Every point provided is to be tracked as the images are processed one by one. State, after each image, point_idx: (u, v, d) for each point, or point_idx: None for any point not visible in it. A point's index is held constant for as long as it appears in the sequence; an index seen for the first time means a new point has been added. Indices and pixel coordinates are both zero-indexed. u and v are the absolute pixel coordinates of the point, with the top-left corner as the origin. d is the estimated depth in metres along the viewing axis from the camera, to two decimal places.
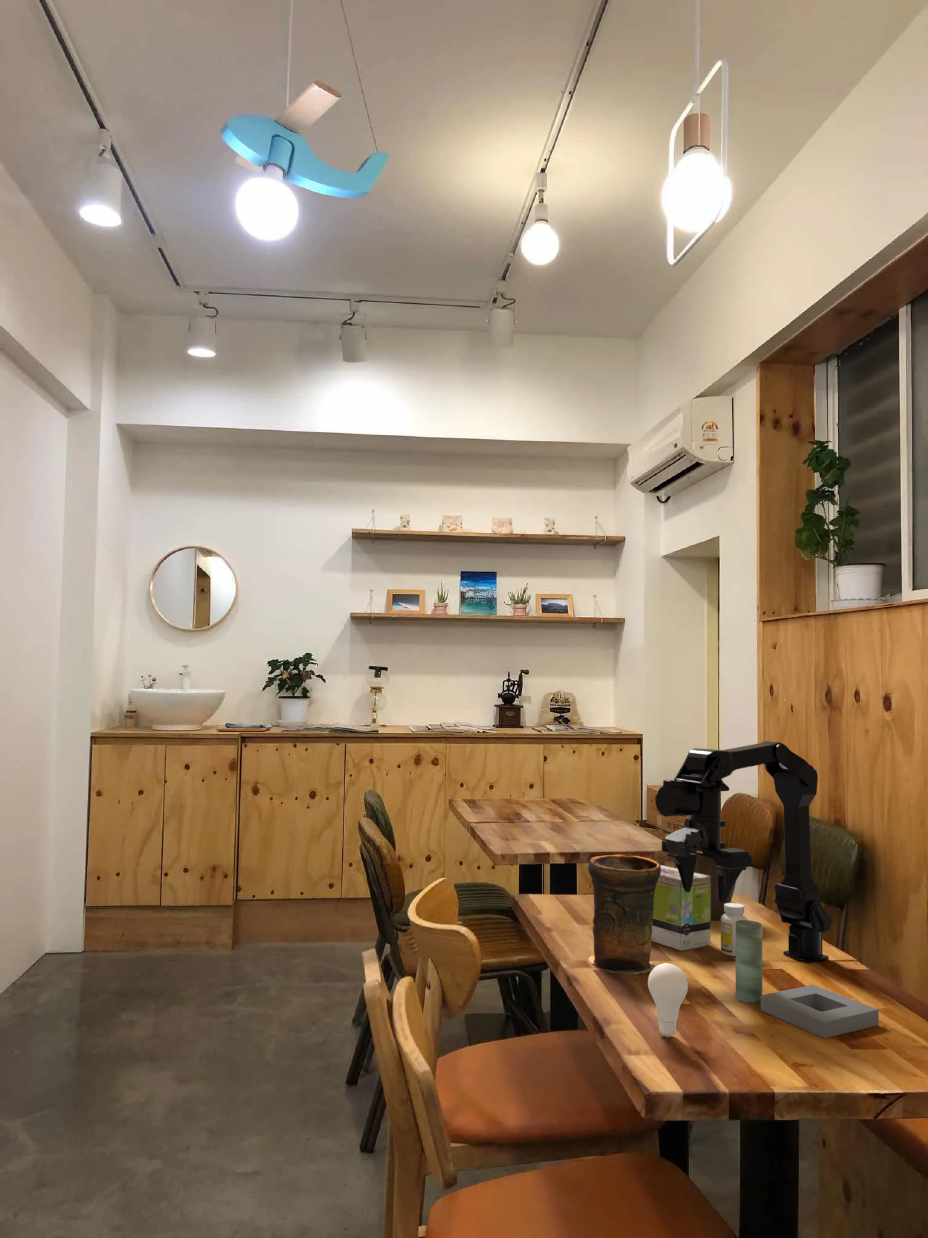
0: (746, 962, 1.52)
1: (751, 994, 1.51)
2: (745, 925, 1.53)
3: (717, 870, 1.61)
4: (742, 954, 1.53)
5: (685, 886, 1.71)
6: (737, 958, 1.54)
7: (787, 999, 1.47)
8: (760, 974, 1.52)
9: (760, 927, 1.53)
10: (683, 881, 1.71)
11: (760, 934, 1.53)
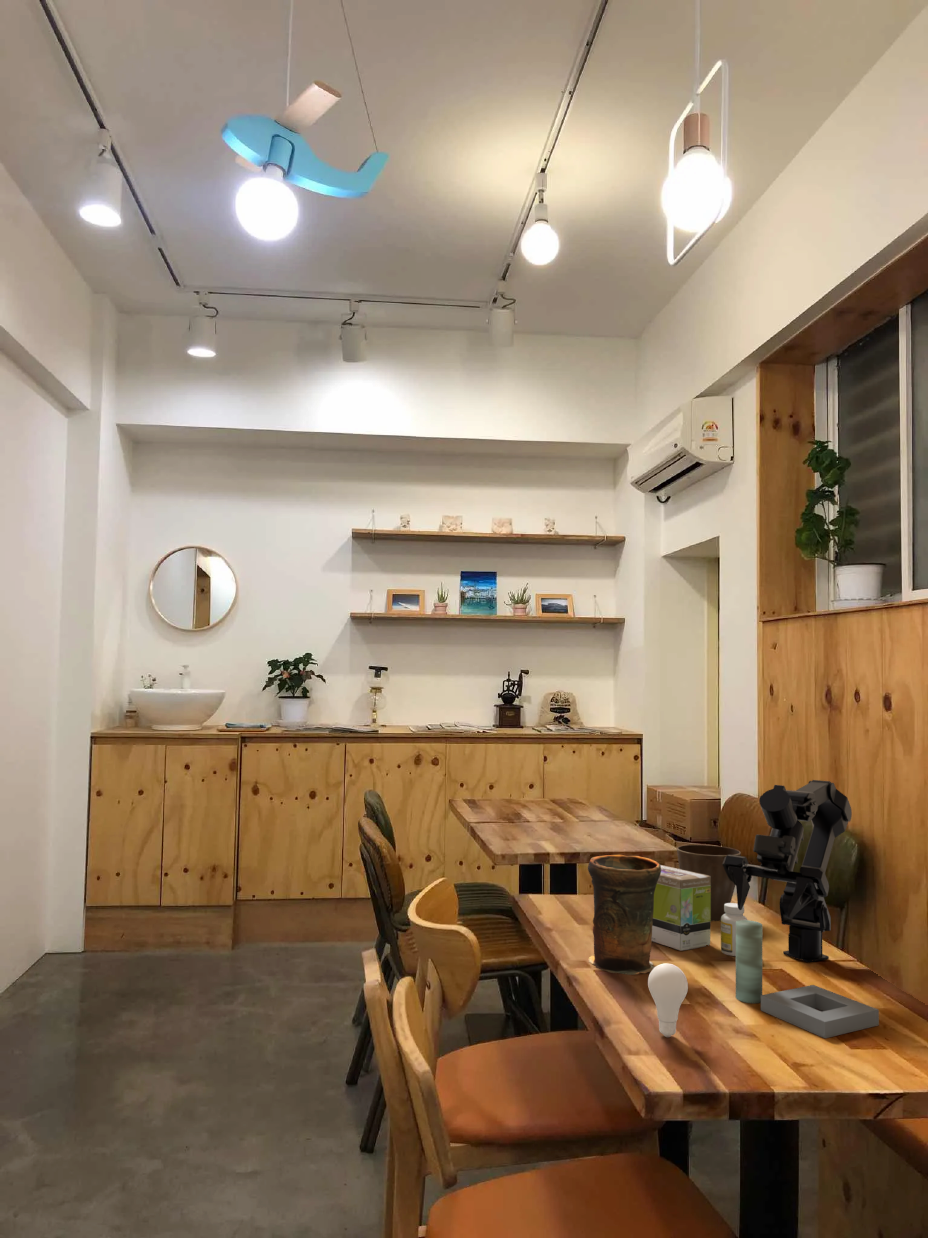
0: (746, 962, 1.52)
1: (751, 994, 1.51)
2: (745, 925, 1.53)
3: (800, 881, 1.60)
4: (742, 954, 1.53)
5: (740, 902, 1.64)
6: (737, 958, 1.54)
7: (787, 999, 1.47)
8: (760, 974, 1.52)
9: (760, 927, 1.53)
10: (740, 896, 1.65)
11: (760, 934, 1.53)
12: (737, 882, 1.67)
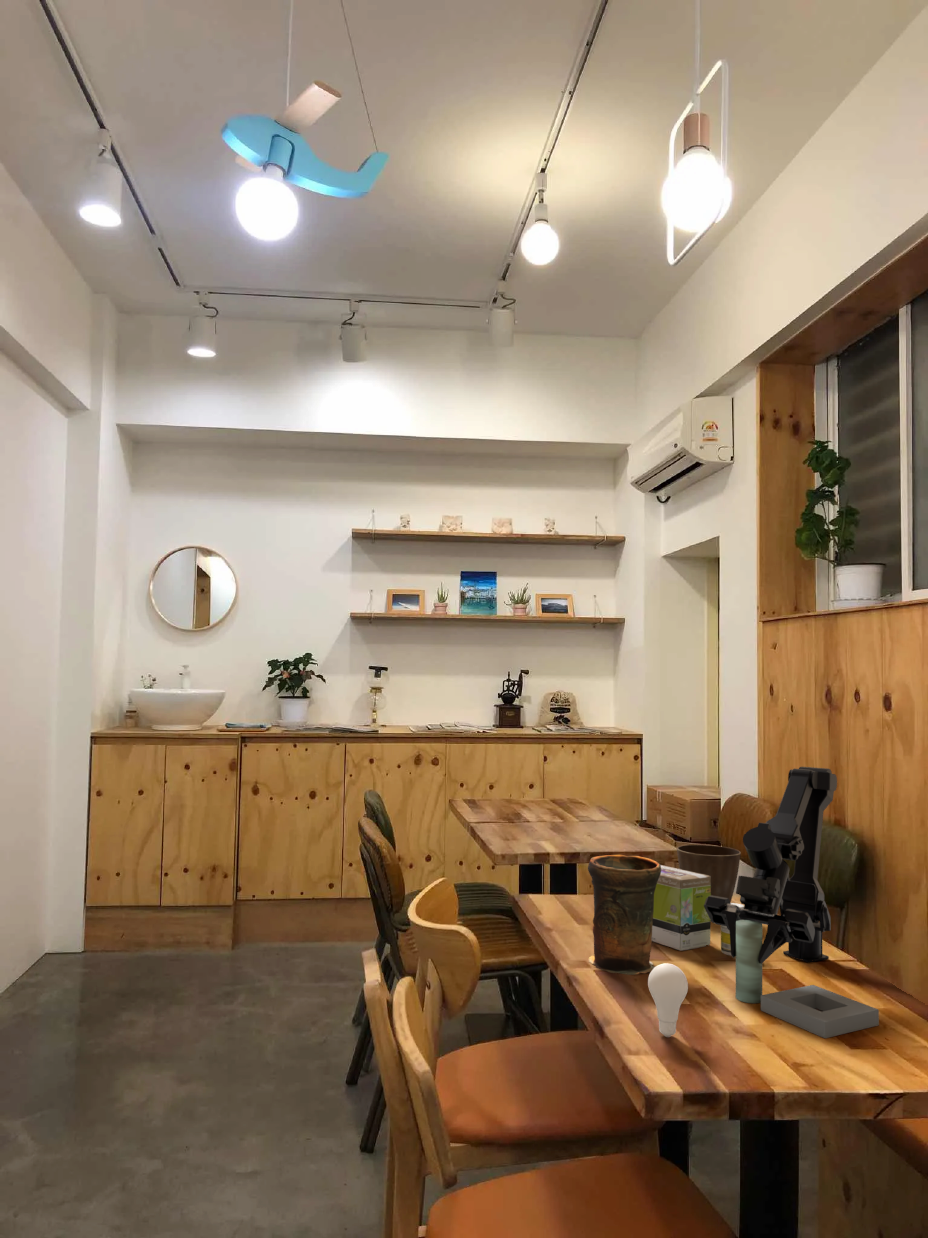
0: (746, 962, 1.52)
1: (751, 994, 1.51)
2: (745, 925, 1.53)
3: (772, 924, 1.53)
4: (742, 954, 1.53)
5: (733, 949, 1.55)
6: (737, 958, 1.54)
7: (787, 999, 1.47)
8: (760, 974, 1.52)
9: (760, 927, 1.53)
10: (733, 943, 1.55)
11: (760, 934, 1.53)
12: (730, 927, 1.57)
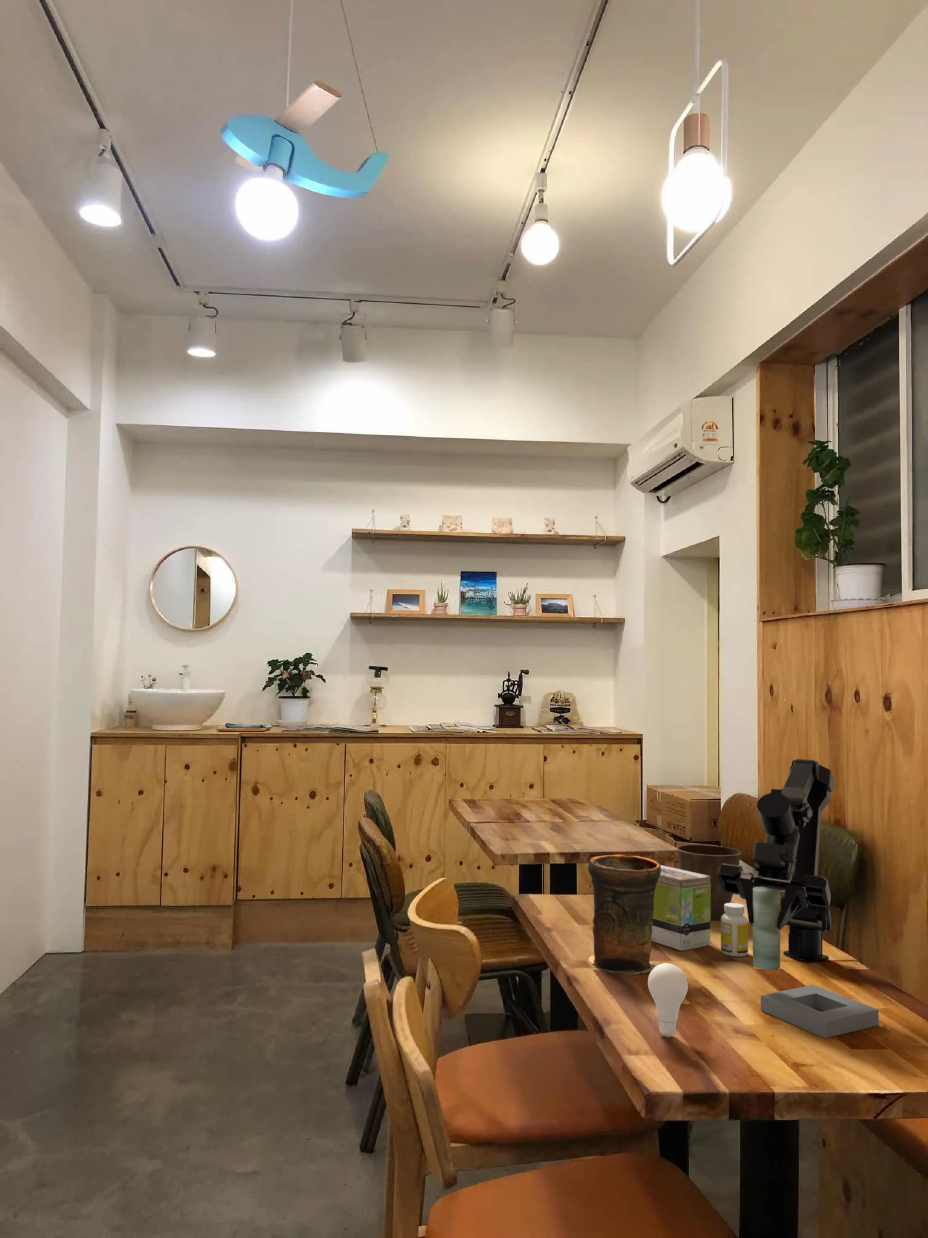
0: (765, 928, 1.50)
1: (770, 961, 1.49)
2: (764, 891, 1.51)
3: (789, 889, 1.52)
4: (761, 921, 1.50)
5: (751, 916, 1.53)
6: (755, 925, 1.51)
7: (787, 999, 1.47)
8: (778, 940, 1.50)
9: (778, 893, 1.51)
10: (750, 910, 1.53)
11: (779, 900, 1.51)
12: (746, 895, 1.55)
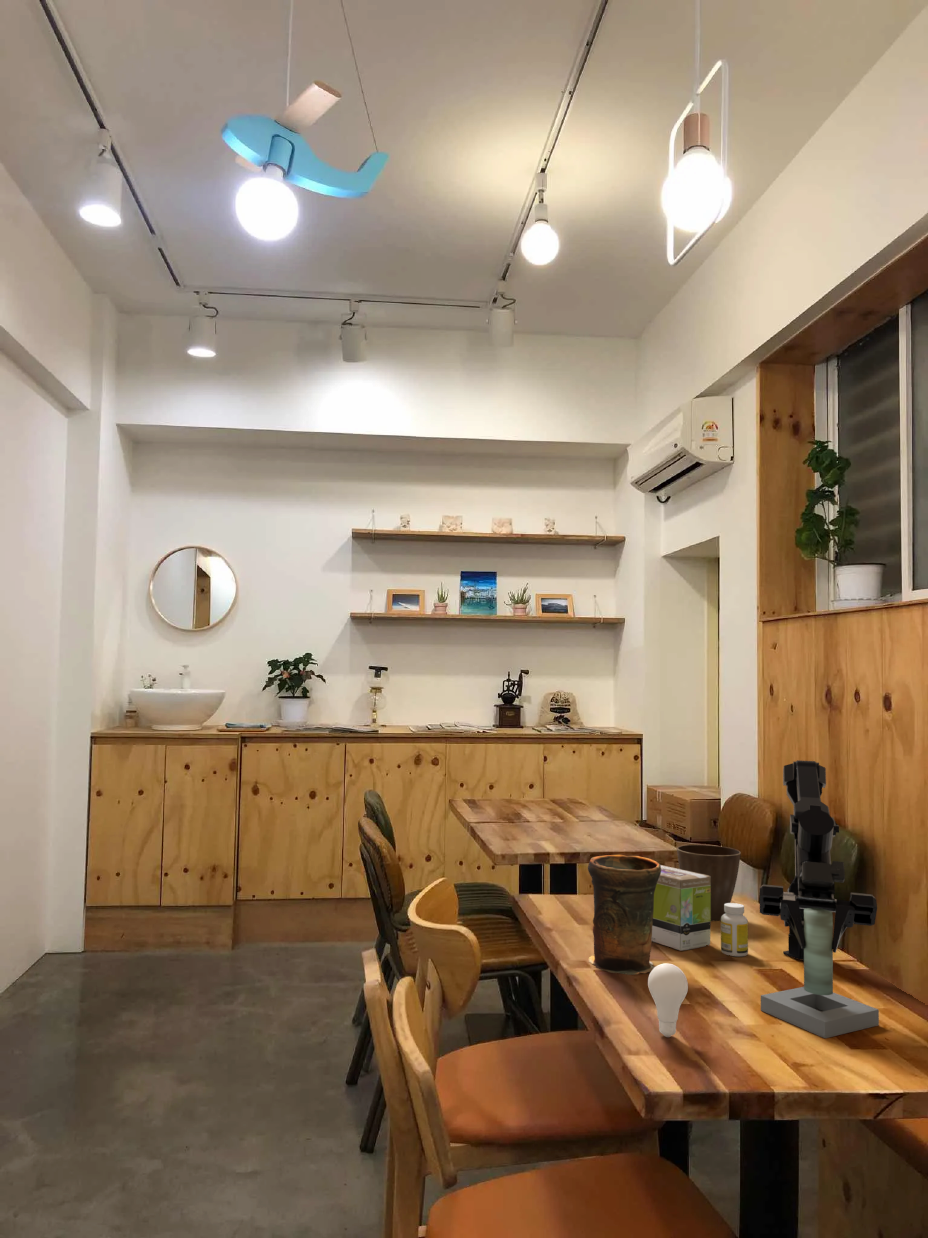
0: (821, 952, 1.44)
1: (826, 986, 1.44)
2: (818, 913, 1.45)
3: (840, 910, 1.47)
4: (817, 945, 1.44)
5: (803, 940, 1.46)
6: (809, 949, 1.45)
7: (787, 999, 1.47)
8: (832, 963, 1.45)
9: (832, 914, 1.46)
10: (801, 933, 1.47)
11: (832, 922, 1.46)
12: (794, 917, 1.49)
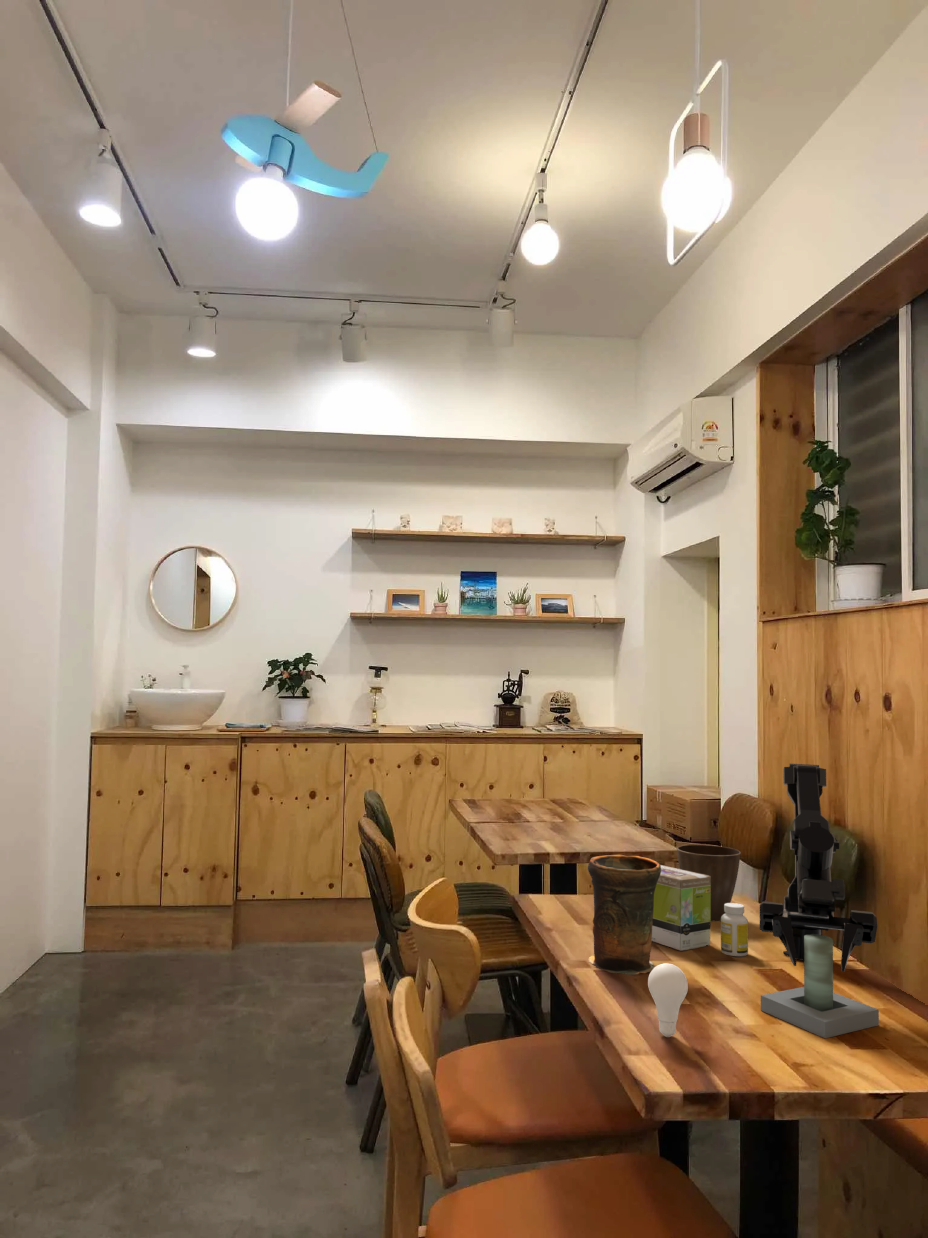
0: (822, 980, 1.44)
1: None
2: (819, 940, 1.45)
3: (849, 928, 1.46)
4: (817, 972, 1.44)
5: (795, 957, 1.46)
6: (810, 976, 1.45)
7: (787, 999, 1.47)
8: (832, 991, 1.45)
9: (832, 941, 1.45)
10: (793, 950, 1.47)
11: (832, 949, 1.45)
12: (786, 934, 1.49)
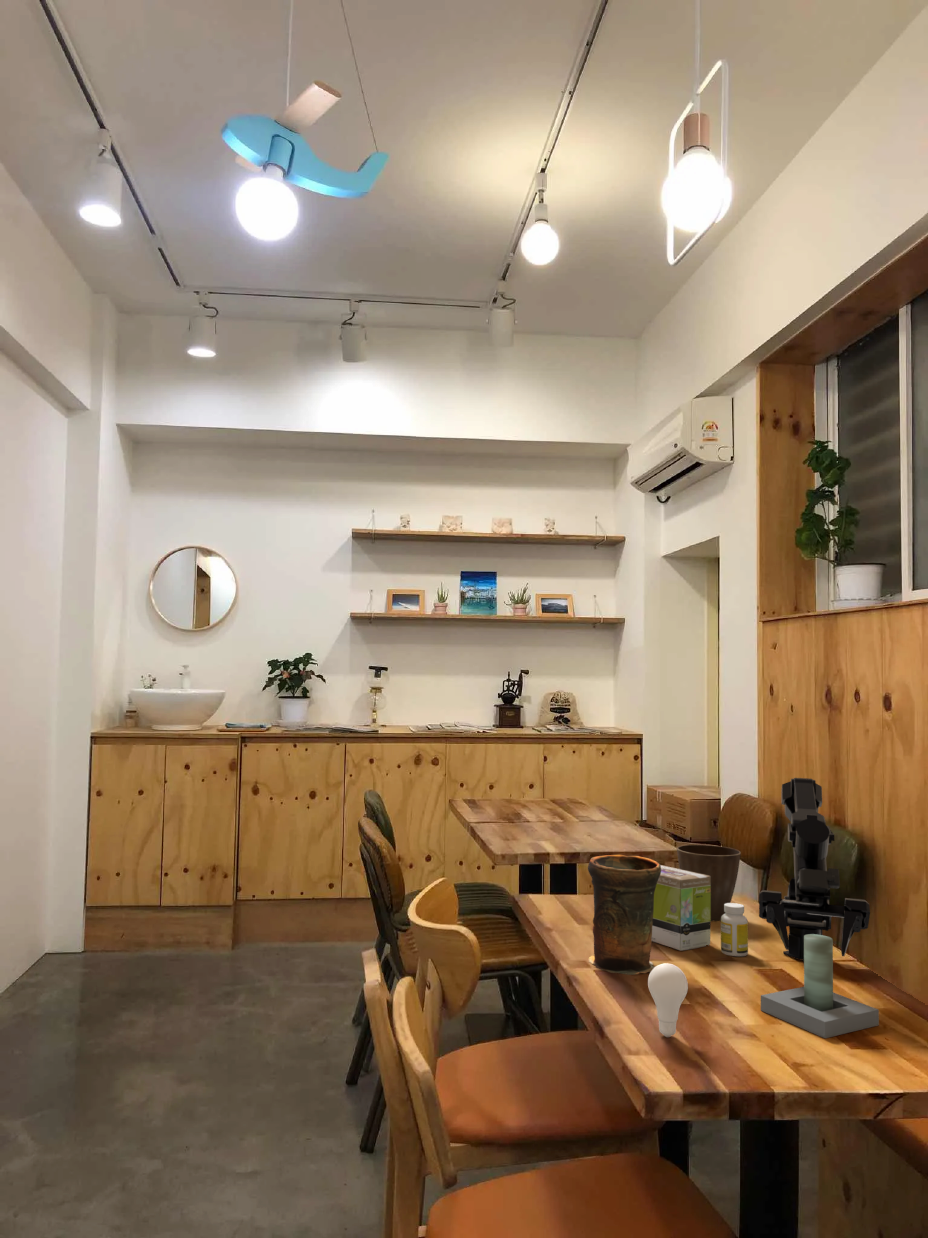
0: (822, 979, 1.44)
1: None
2: (819, 940, 1.45)
3: (848, 916, 1.55)
4: (817, 972, 1.44)
5: (787, 942, 1.56)
6: (809, 976, 1.45)
7: (787, 999, 1.47)
8: (832, 990, 1.45)
9: (832, 941, 1.45)
10: (786, 935, 1.56)
11: (832, 949, 1.45)
12: (779, 920, 1.58)
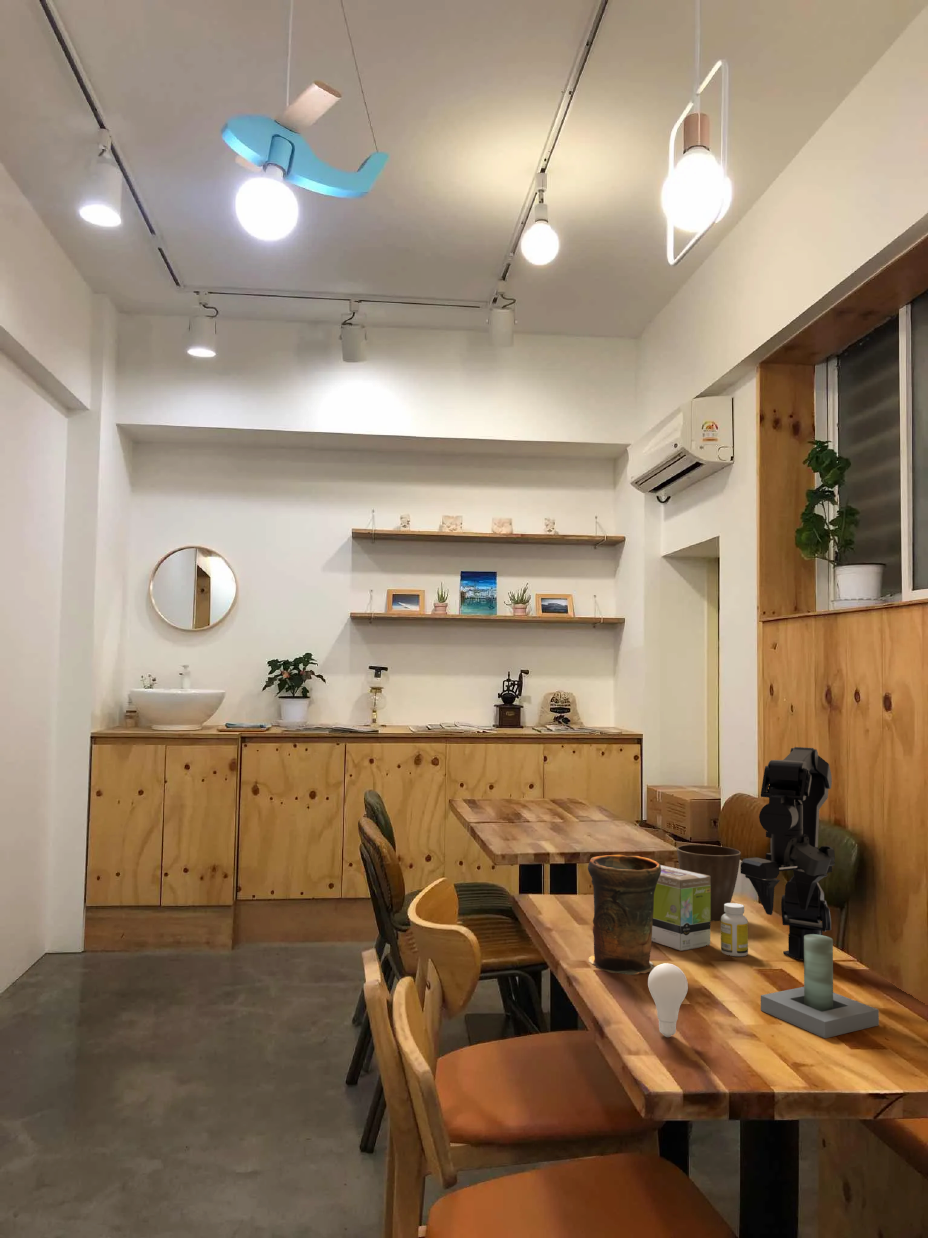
0: (822, 980, 1.44)
1: None
2: (819, 941, 1.45)
3: (818, 878, 1.64)
4: (817, 972, 1.44)
5: (771, 909, 1.61)
6: (809, 976, 1.45)
7: (787, 999, 1.47)
8: (832, 991, 1.45)
9: (832, 941, 1.45)
10: (772, 904, 1.60)
11: (832, 949, 1.45)
12: (770, 891, 1.60)
